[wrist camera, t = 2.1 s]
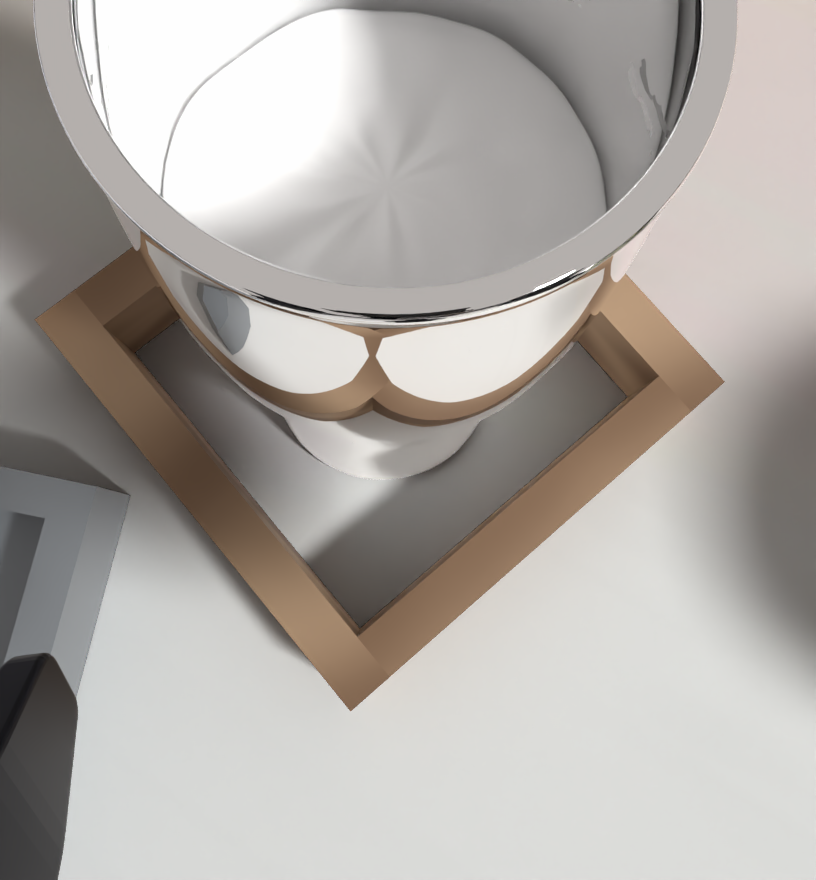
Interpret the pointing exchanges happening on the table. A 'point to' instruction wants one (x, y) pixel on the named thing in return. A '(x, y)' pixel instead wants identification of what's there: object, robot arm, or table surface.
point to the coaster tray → (54, 565)
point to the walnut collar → (269, 552)
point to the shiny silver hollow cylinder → (387, 187)
